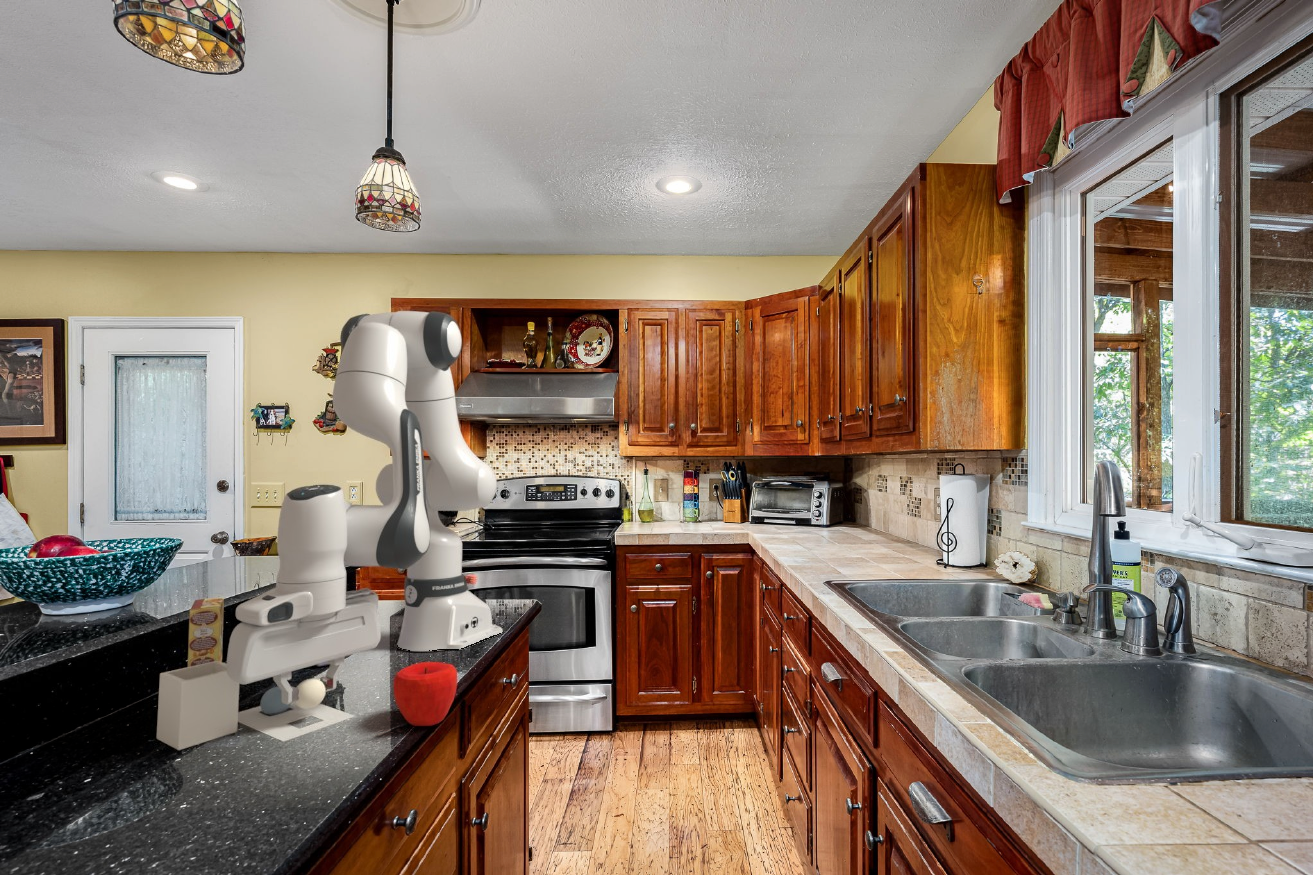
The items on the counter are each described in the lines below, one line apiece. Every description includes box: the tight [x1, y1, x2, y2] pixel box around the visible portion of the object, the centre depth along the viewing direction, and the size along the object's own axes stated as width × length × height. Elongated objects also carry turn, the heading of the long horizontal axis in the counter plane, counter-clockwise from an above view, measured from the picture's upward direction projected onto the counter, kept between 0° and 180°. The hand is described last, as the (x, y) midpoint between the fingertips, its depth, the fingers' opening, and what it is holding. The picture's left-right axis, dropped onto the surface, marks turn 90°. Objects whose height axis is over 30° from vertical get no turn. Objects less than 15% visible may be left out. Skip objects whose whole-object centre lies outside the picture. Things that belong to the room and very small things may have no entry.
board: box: [238, 702, 356, 743], centre depth 88 cm, size 16×10×1 cm, turn 58°
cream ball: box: [295, 678, 326, 709], centre depth 87 cm, size 4×4×4 cm
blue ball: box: [259, 686, 291, 715], centre depth 90 cm, size 4×4×4 cm
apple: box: [393, 661, 458, 727], centre depth 88 cm, size 9×9×8 cm
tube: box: [156, 661, 240, 751], centre depth 82 cm, size 7×7×9 cm
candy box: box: [187, 596, 225, 667], centre depth 96 cm, size 9×4×15 cm, turn 33°
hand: (309, 695), depth 87 cm, fingers closed on cream ball, 4 cm apart
